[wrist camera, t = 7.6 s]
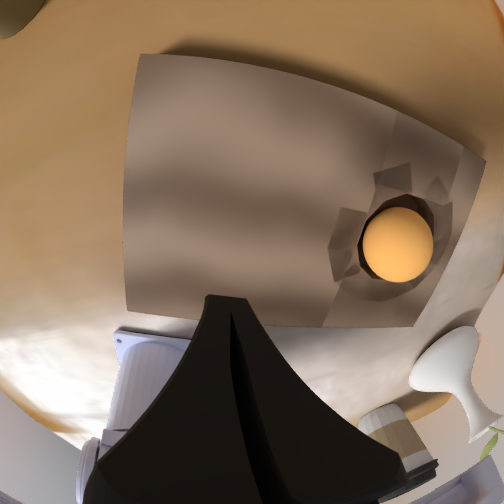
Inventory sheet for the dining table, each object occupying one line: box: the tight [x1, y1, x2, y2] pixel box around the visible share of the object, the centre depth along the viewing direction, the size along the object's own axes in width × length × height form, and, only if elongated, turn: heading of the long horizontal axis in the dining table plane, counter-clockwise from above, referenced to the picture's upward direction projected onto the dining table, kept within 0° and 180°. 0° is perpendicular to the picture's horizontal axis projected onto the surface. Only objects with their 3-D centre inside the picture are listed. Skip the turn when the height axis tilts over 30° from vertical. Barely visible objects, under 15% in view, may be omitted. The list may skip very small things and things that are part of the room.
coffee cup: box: [358, 403, 439, 504], centre depth 30 cm, size 11×11×15 cm
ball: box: [363, 207, 433, 282], centre depth 17 cm, size 5×5×5 cm
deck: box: [123, 54, 486, 328], centre depth 17 cm, size 16×24×2 cm, turn 79°
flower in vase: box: [409, 326, 504, 461], centre depth 19 cm, size 13×11×25 cm
